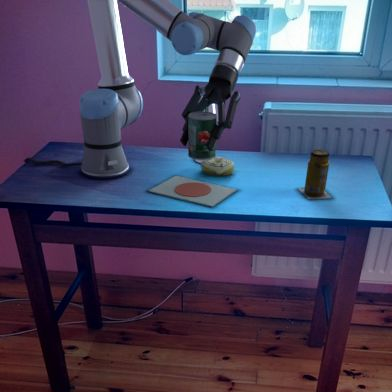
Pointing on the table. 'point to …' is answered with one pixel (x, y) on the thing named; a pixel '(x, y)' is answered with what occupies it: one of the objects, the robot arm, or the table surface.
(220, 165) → the decorated donut
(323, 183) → the condiment
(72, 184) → the table surface
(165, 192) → the placemat
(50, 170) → the table surface
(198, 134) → the canned tomato
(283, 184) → the table surface
